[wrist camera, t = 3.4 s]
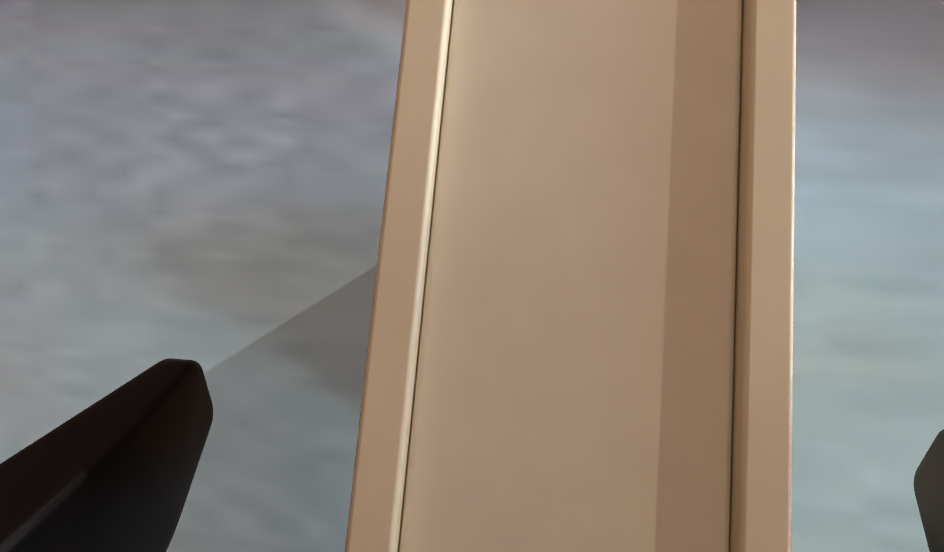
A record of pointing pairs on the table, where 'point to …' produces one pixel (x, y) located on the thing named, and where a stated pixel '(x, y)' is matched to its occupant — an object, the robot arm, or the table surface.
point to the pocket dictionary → (584, 282)
